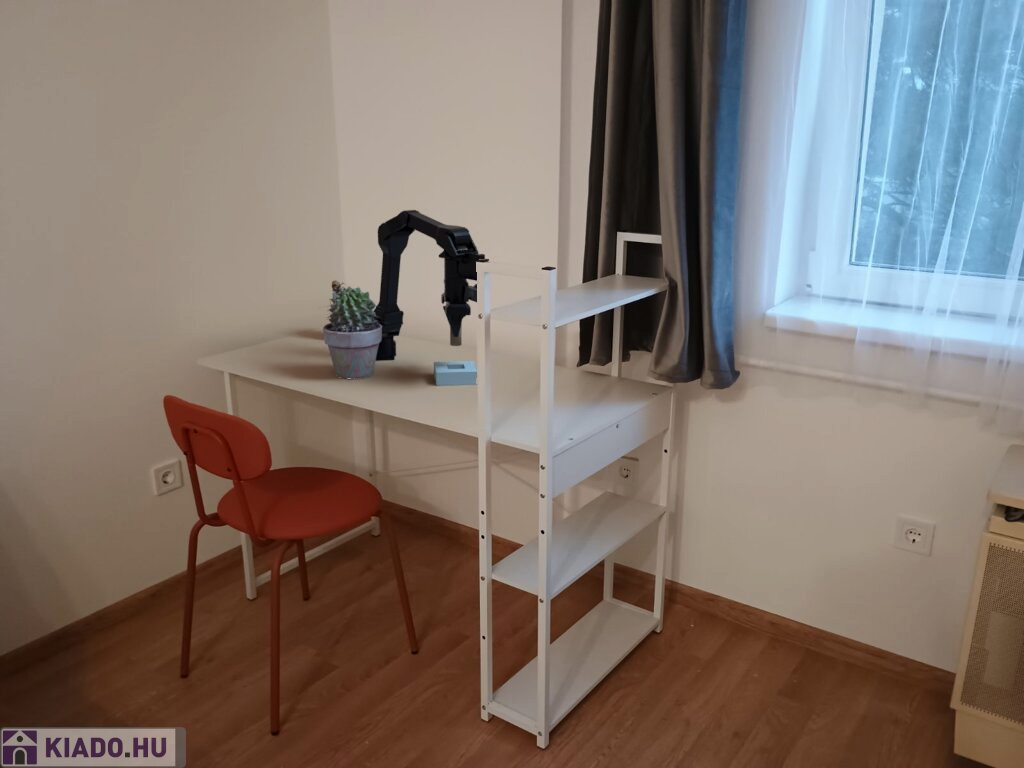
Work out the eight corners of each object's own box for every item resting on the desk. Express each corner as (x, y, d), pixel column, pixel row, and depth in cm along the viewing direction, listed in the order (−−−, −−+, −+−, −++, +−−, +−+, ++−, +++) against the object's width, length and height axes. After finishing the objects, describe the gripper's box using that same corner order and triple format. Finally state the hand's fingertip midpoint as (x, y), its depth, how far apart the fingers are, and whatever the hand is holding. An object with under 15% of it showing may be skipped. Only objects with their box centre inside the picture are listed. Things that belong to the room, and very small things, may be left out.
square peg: (450, 346, 233) (450, 312, 230) (449, 343, 236) (449, 310, 233) (462, 346, 233) (462, 312, 231) (461, 343, 236) (461, 310, 233)
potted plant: (379, 386, 229) (376, 291, 222) (309, 380, 234) (304, 286, 227) (403, 369, 246) (401, 279, 239) (337, 363, 250) (334, 275, 243)
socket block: (436, 385, 231) (436, 372, 230) (433, 374, 241) (433, 361, 240) (478, 384, 232) (478, 371, 232) (474, 373, 243) (474, 360, 242)
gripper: (490, 282, 222) (490, 343, 226) (482, 270, 239) (481, 327, 244) (446, 283, 220) (446, 344, 224) (441, 271, 238) (441, 328, 242)
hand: (455, 335), depth 234 cm, fingers closed on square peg, 3 cm apart
